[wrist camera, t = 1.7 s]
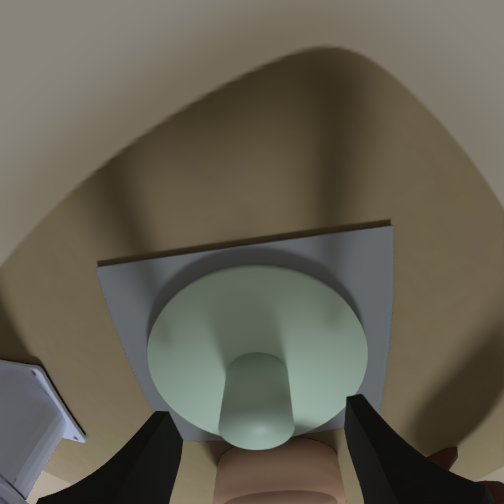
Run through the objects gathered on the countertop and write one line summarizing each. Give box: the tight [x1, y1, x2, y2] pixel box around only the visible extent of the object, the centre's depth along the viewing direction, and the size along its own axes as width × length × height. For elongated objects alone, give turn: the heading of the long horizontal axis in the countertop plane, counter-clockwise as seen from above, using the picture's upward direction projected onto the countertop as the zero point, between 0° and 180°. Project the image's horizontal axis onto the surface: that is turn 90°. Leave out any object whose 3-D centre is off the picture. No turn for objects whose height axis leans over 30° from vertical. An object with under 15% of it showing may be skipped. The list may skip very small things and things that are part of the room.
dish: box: [212, 437, 346, 504], centre depth 15 cm, size 9×9×4 cm
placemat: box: [96, 225, 394, 441], centre depth 14 cm, size 14×13×1 cm
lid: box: [147, 264, 368, 450], centre depth 12 cm, size 11×11×4 cm
